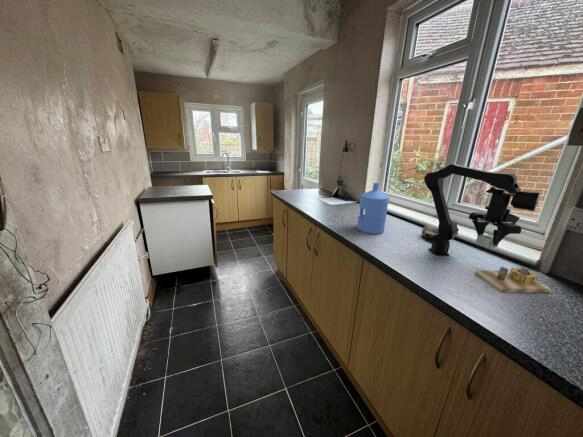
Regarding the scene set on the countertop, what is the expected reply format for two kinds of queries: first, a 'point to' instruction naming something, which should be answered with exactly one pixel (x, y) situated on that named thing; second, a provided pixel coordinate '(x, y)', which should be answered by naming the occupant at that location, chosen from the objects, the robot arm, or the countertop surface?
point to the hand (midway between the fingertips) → (487, 241)
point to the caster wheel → (429, 232)
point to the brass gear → (522, 276)
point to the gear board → (510, 281)
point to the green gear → (485, 241)
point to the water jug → (373, 211)
